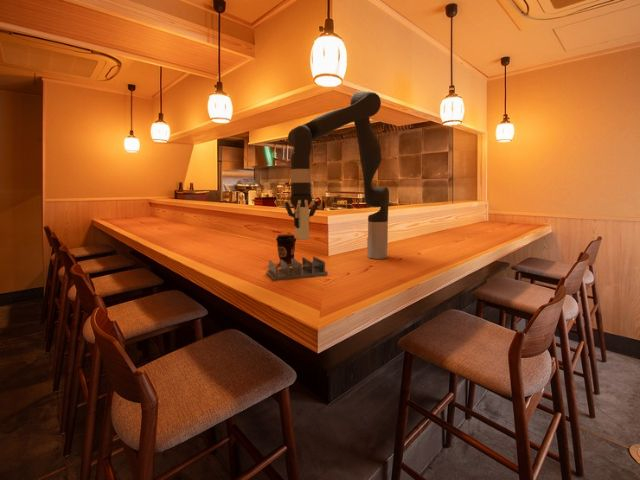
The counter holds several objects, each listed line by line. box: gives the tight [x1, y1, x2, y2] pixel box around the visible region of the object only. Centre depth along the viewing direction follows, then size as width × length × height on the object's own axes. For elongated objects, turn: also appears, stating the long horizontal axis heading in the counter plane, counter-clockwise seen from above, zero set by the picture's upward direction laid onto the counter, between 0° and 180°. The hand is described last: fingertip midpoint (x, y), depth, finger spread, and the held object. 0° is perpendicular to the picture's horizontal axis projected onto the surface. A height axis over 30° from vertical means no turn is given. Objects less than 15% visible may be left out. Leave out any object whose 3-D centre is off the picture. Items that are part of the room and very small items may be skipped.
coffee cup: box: [275, 234, 297, 266], centre depth 148 cm, size 9×8×13 cm
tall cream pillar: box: [294, 206, 310, 241], centre depth 129 cm, size 8×3×12 cm, turn 21°
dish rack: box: [266, 255, 329, 281], centre depth 130 cm, size 12×21×5 cm, turn 111°
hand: (301, 227), depth 129 cm, fingers closed on tall cream pillar, 3 cm apart
